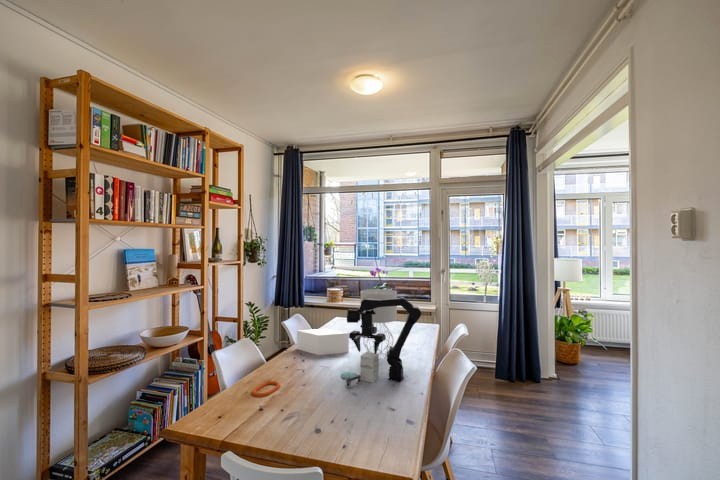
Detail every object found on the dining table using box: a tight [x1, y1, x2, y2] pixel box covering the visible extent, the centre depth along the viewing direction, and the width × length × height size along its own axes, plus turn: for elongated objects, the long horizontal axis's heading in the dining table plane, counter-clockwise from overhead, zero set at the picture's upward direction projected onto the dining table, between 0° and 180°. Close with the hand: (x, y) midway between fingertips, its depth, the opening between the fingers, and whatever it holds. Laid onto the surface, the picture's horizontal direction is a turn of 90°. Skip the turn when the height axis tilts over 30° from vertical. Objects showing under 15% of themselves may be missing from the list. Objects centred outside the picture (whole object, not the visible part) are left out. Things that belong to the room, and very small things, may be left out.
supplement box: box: [359, 351, 380, 384], centre depth 166 cm, size 7×7×13 cm
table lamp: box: [360, 288, 398, 360], centre depth 201 cm, size 22×22×40 cm
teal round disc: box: [340, 371, 358, 380], centre depth 170 cm, size 9×9×1 cm
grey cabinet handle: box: [345, 373, 362, 389], centre depth 160 cm, size 8×9×4 cm
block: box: [296, 327, 350, 356], centre depth 211 cm, size 18×35×12 cm, turn 80°
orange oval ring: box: [251, 380, 281, 398], centre depth 154 cm, size 10×2×15 cm
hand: (367, 352), depth 168 cm, fingers open, 9 cm apart
